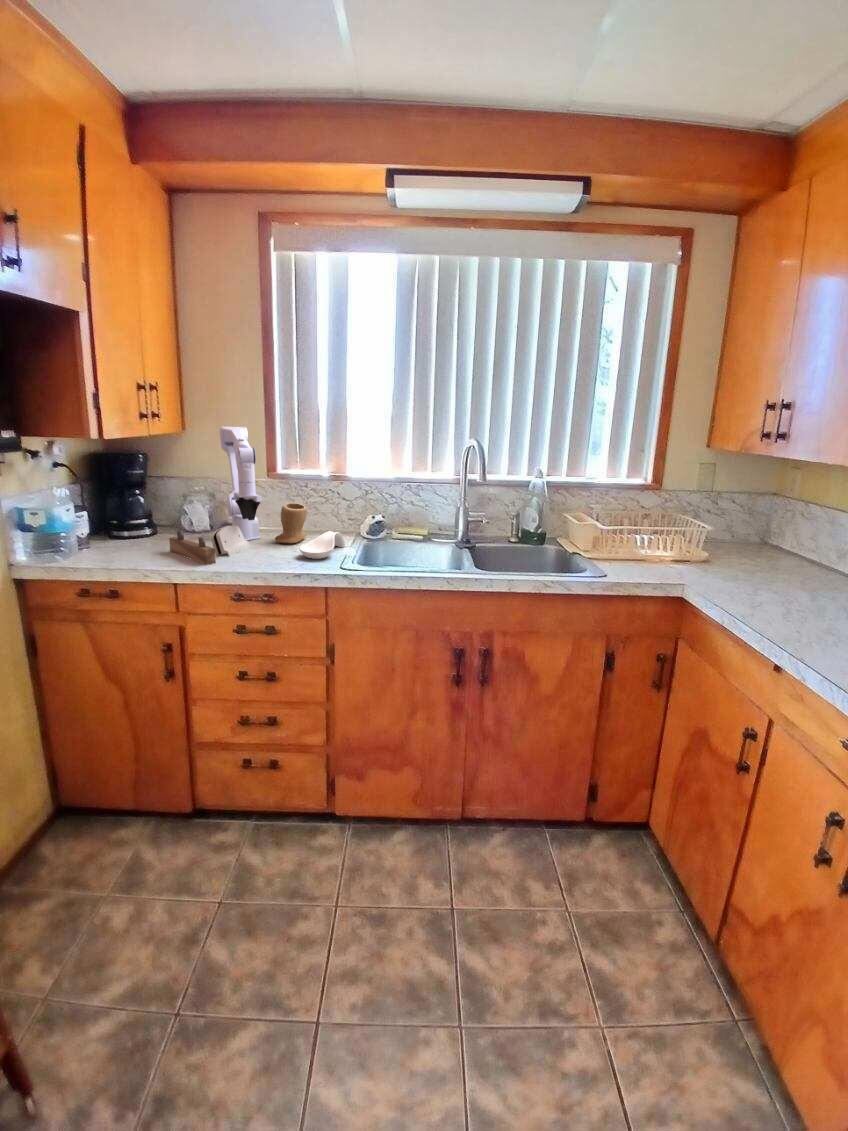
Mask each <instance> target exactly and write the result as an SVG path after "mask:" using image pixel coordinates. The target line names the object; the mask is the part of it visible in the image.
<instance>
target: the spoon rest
mask: <svg viewBox="0 0 848 1131" xmlns="http://www.w3.org/2000/svg"><path fill="white" fill-rule="evenodd" d="M335 546H338V547H337V548H345V547H346V542H345V539H344V537H343V535H342V534H341V533H340V532H338V531H336V532H333V531H332V530H330V531H326V532H324V533H322V534H321V535H319V536H317V537H316V538H314V539H312V540H309V541H307V542H305V543H304V544H302V545H301V546H300V547H299V552H301V554H302V555H303V556H305V557H306V558H309V559H311V558H312V560H323V559H326V558H327V557H329V556H330V555H331V554H332V553H333V550H334V549H335ZM325 557H326V558H325ZM322 558H323V559H322Z"/></svg>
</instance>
